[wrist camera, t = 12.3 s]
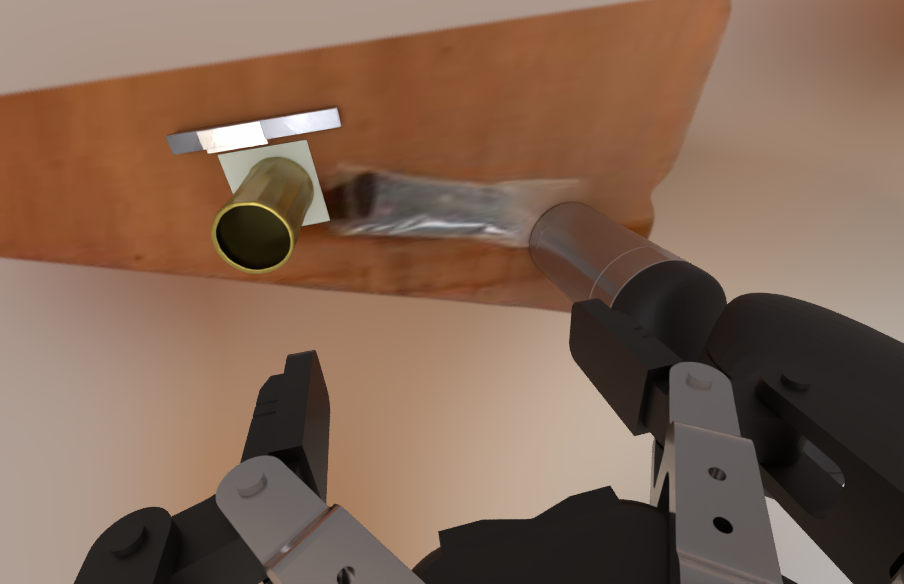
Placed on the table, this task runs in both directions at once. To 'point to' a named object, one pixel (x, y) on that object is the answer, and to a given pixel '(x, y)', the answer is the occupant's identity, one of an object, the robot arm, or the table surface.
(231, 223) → the vase
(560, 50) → the table surface
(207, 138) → the price rail
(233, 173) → the pad
